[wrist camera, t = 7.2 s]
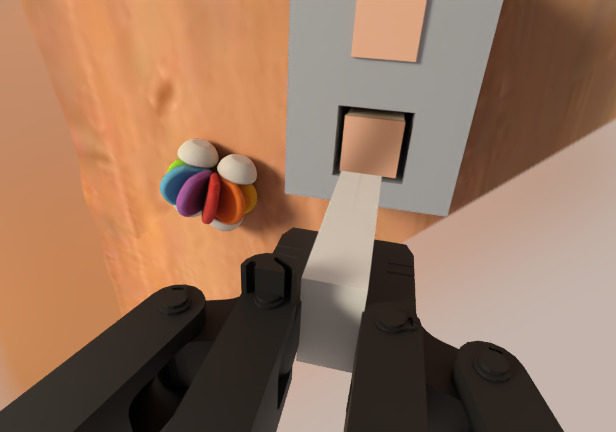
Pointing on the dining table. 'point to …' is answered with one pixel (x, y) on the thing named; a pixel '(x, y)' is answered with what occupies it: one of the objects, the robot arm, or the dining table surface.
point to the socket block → (386, 89)
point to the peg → (372, 141)
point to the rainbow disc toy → (210, 185)
